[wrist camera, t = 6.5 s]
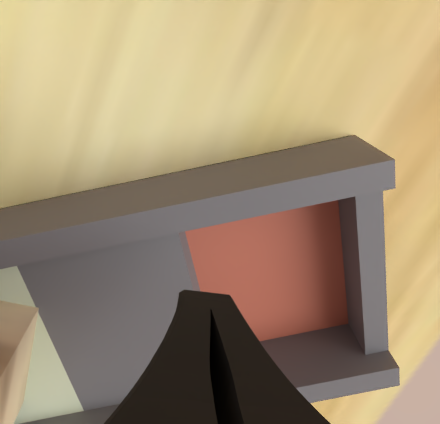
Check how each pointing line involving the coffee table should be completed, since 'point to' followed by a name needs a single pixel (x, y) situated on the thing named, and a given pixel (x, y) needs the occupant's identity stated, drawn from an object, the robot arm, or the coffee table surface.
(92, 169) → the coffee table surface
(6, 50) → the coffee table surface
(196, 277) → the trap runway
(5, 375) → the maple block
